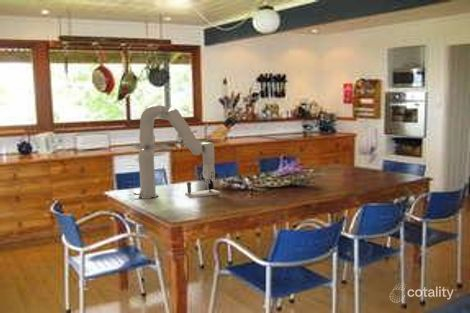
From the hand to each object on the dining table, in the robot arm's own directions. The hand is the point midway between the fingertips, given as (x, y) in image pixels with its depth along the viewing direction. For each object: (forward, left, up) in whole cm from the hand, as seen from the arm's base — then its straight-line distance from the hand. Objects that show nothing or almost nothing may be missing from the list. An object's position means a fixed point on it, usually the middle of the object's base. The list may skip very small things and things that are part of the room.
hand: (209, 188), depth 326 cm
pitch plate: (-5, 0, -3) cm, 6 cm away
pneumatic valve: (+9, +22, -3) cm, 24 cm away
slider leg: (0, 0, -1) cm, 1 cm away
